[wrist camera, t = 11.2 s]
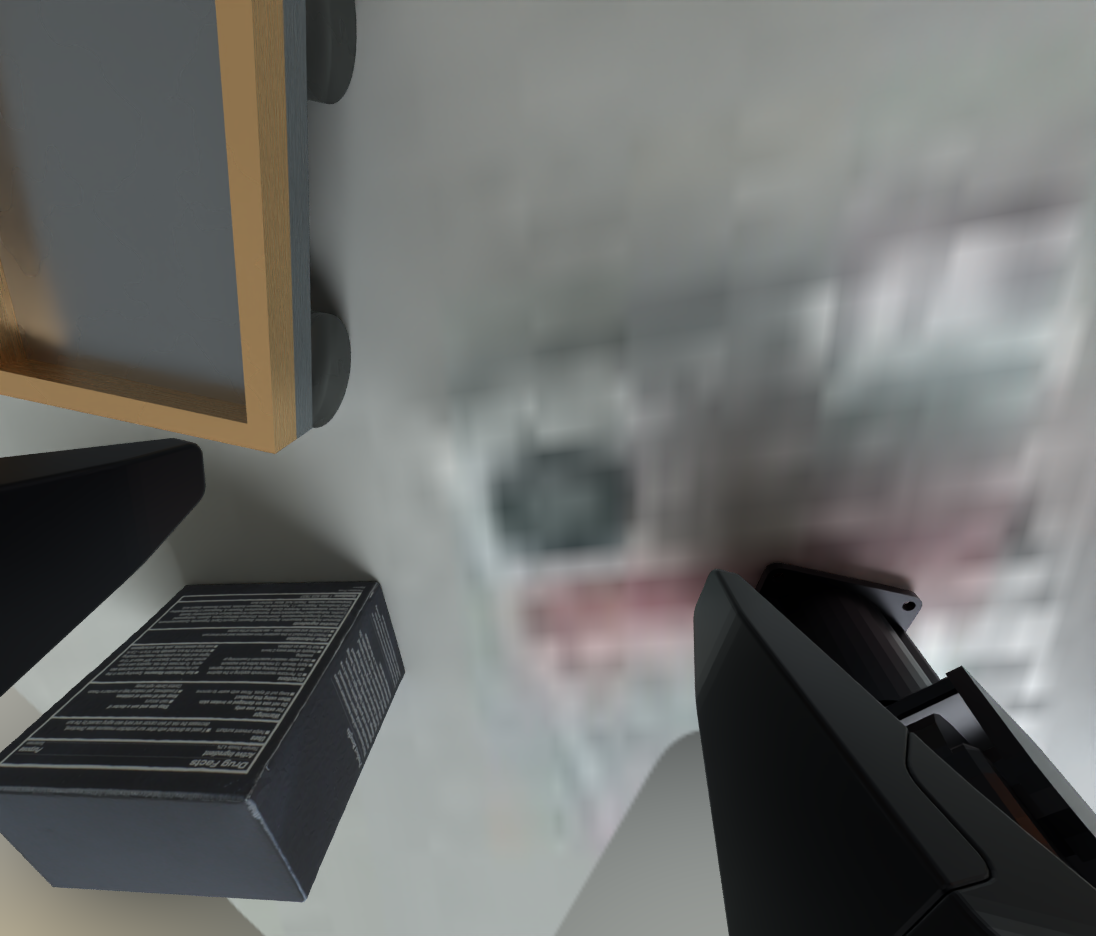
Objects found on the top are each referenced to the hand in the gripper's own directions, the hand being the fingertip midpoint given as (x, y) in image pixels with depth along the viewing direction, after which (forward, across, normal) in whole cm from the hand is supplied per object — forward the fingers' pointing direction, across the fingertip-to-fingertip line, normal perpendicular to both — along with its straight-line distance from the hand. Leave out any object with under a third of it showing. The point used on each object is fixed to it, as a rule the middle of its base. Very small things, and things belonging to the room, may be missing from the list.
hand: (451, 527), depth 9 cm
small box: (+12, +10, +16) cm, 22 cm away
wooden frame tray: (+11, +12, -4) cm, 17 cm away
